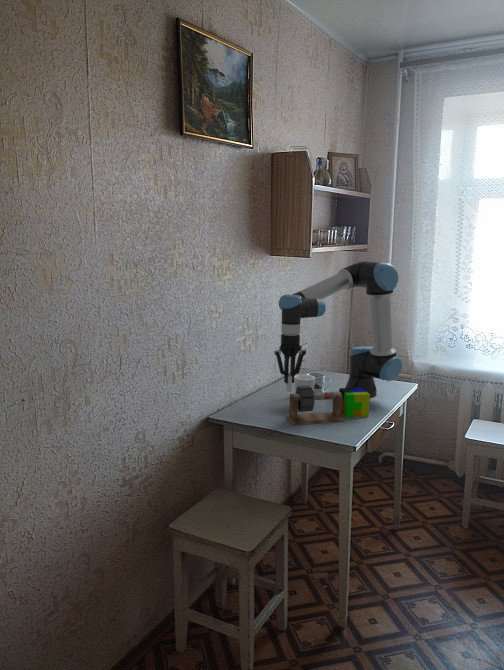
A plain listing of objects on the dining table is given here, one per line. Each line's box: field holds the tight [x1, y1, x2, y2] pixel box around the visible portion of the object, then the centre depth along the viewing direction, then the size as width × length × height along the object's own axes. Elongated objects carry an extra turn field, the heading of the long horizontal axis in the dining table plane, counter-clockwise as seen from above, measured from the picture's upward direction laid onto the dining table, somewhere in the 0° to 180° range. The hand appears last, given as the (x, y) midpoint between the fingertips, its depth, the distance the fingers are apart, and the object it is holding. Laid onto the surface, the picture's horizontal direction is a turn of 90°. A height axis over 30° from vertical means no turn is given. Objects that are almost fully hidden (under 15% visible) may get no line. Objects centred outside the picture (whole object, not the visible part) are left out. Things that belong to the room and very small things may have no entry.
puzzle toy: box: [338, 387, 371, 419], centre depth 235 cm, size 10×10×10 cm
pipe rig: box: [286, 391, 345, 426], centre depth 226 cm, size 22×9×12 cm, turn 102°
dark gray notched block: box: [294, 386, 316, 413], centre depth 224 cm, size 5×10×10 cm, turn 12°
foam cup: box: [293, 374, 316, 393], centre depth 244 cm, size 10×9×13 cm
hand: (288, 390), depth 222 cm, fingers closed
